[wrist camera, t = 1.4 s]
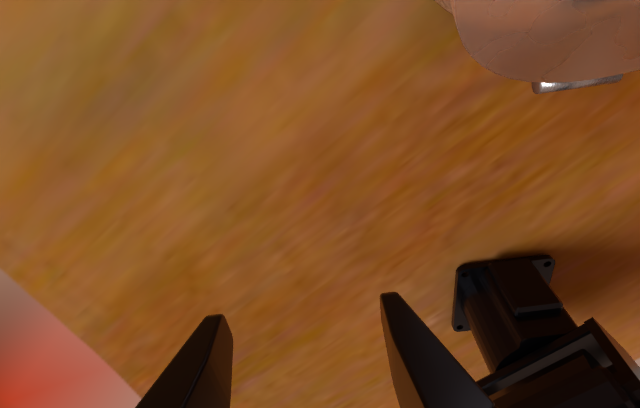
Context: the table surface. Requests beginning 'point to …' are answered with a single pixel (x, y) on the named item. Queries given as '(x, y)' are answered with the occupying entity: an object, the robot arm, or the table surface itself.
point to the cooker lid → (552, 40)
